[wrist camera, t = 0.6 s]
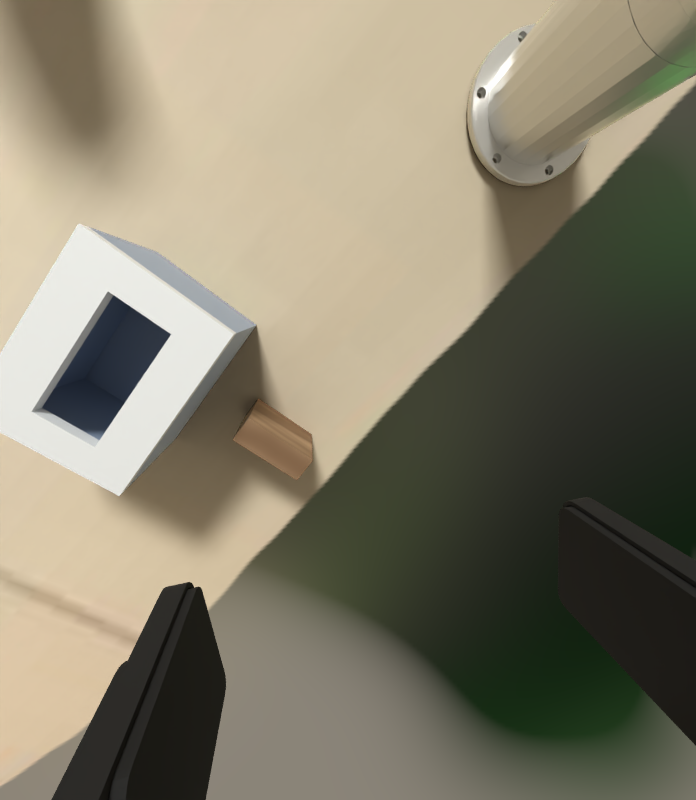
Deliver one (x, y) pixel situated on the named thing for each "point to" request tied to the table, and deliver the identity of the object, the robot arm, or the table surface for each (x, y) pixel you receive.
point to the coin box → (113, 358)
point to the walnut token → (275, 439)
